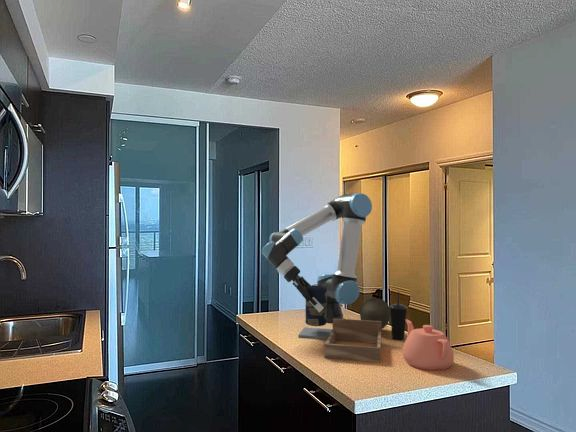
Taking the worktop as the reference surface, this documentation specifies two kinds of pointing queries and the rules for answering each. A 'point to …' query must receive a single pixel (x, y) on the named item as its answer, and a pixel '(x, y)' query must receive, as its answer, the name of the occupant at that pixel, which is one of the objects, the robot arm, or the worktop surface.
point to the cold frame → (354, 340)
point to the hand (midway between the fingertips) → (323, 308)
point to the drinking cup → (398, 320)
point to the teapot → (427, 348)
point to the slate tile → (315, 333)
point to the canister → (311, 312)
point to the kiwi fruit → (375, 311)
